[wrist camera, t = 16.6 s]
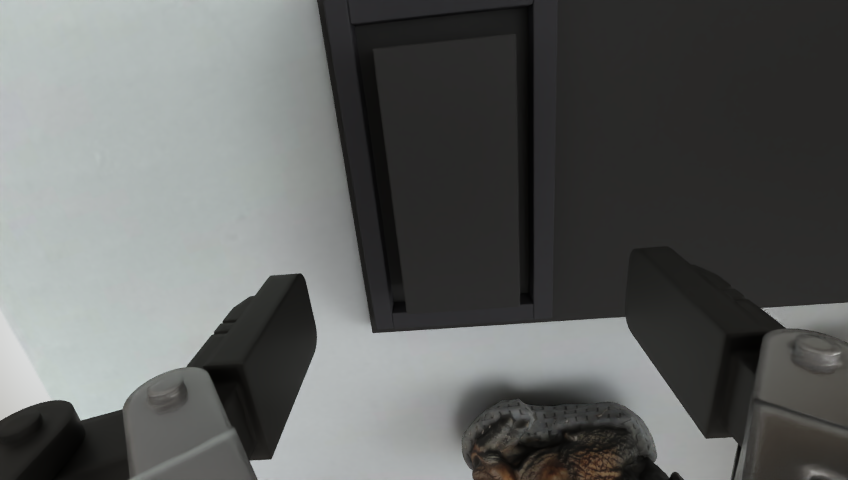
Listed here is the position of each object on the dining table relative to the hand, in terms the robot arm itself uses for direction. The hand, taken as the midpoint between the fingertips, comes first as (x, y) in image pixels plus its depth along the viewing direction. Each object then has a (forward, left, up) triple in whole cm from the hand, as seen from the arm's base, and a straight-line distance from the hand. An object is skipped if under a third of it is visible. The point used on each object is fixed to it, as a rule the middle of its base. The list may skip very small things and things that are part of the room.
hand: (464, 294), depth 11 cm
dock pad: (+12, +7, -13) cm, 19 cm away
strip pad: (0, 0, -12) cm, 12 cm away
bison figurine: (+13, -12, -13) cm, 22 cm away
